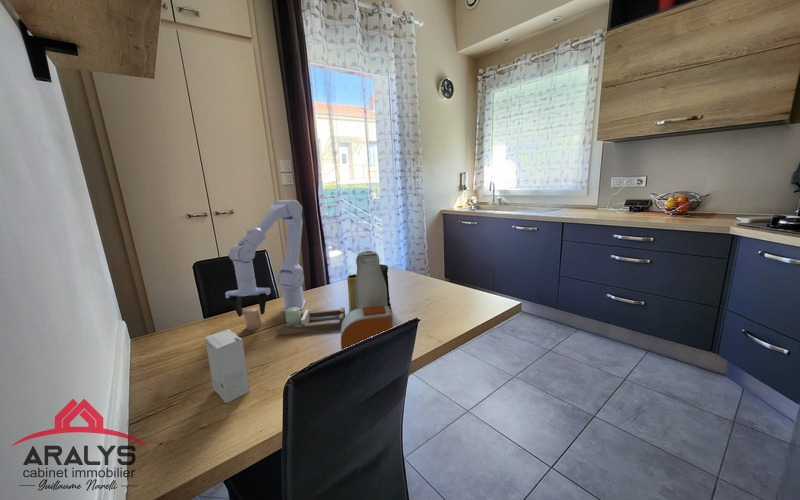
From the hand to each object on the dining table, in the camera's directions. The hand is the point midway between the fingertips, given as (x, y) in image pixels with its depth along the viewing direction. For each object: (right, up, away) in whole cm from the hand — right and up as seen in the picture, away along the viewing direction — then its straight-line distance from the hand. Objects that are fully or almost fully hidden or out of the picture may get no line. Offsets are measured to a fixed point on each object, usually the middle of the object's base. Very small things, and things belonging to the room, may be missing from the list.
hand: (251, 314), depth 108 cm
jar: (0, -5, +1) cm, 5 cm away
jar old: (+16, -4, 0) cm, 16 cm away
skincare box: (+11, -12, -33) cm, 37 cm away
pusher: (+26, -3, +1) cm, 26 cm away
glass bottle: (+44, -5, -7) cm, 45 cm away
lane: (+21, -4, 0) cm, 22 cm away
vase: (+36, -1, +11) cm, 38 cm away
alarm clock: (+44, -7, -19) cm, 48 cm away
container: (+46, -1, +9) cm, 46 cm away
